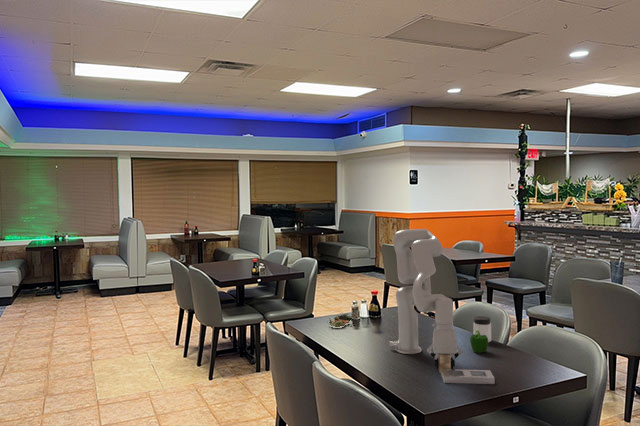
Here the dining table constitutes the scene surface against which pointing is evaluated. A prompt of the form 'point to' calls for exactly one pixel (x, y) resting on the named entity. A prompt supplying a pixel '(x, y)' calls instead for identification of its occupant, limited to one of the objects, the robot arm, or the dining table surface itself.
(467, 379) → the rail
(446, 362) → the beech block
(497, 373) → the dining table surface
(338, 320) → the plated dish
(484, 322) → the jar
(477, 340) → the bell pepper
